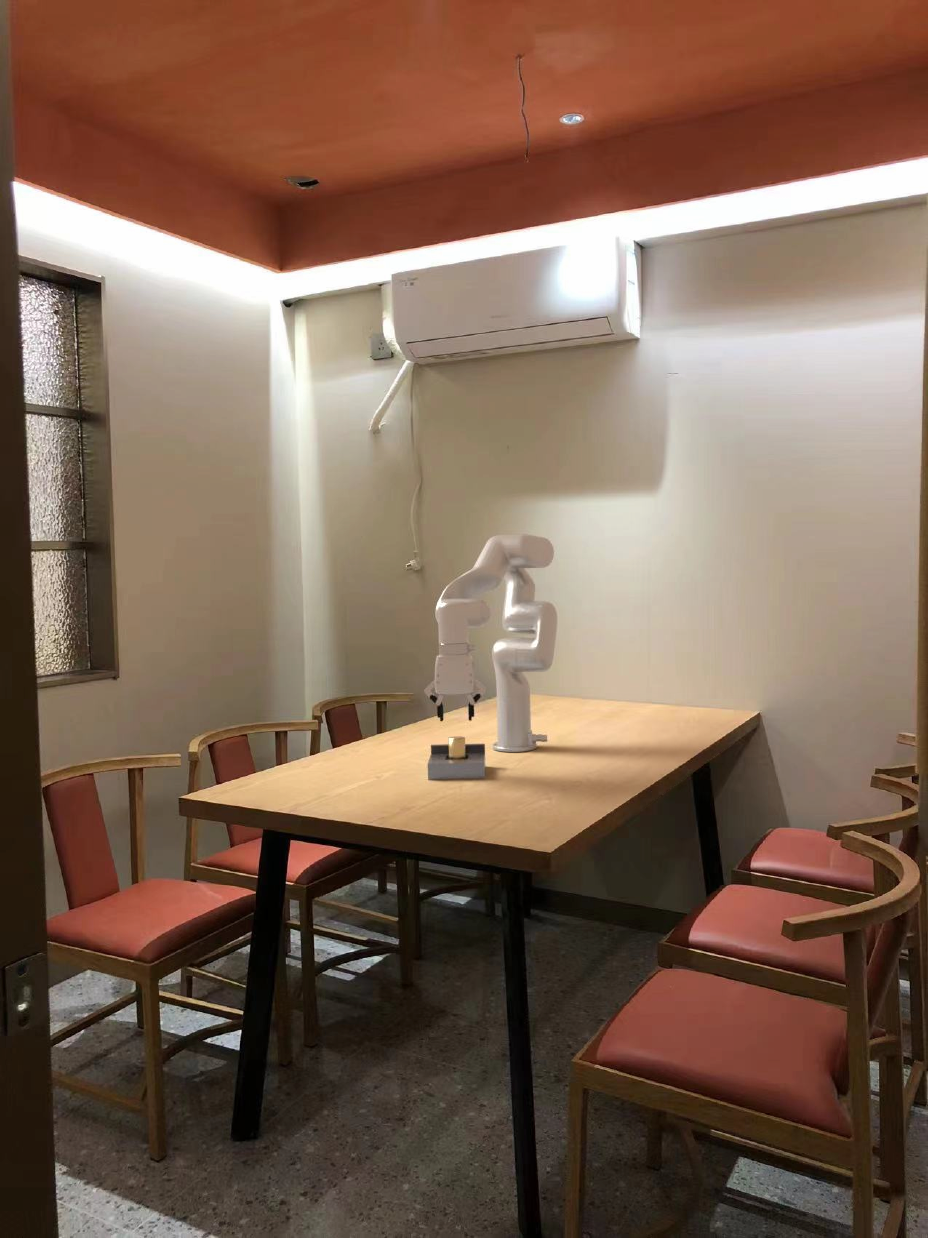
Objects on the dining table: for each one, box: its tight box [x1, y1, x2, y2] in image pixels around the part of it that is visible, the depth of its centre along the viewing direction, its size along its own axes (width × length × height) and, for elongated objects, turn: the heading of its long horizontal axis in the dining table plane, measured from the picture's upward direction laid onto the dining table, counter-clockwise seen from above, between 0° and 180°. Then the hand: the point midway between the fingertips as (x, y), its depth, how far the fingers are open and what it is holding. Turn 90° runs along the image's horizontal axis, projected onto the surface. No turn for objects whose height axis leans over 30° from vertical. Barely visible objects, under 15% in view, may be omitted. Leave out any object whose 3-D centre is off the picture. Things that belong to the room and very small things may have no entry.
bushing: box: [448, 735, 466, 760], centre depth 247 cm, size 4×4×9 cm
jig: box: [427, 743, 486, 781], centre depth 247 cm, size 14×14×6 cm
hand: (456, 719), depth 247 cm, fingers open, 6 cm apart
